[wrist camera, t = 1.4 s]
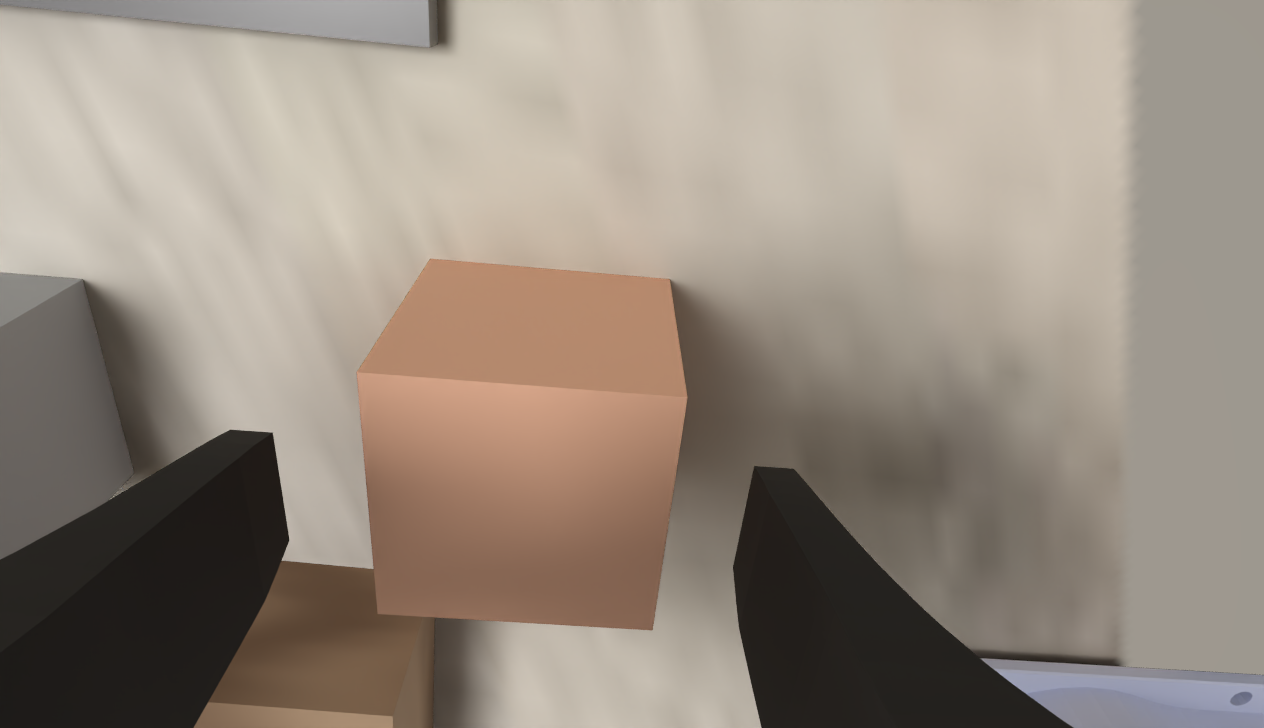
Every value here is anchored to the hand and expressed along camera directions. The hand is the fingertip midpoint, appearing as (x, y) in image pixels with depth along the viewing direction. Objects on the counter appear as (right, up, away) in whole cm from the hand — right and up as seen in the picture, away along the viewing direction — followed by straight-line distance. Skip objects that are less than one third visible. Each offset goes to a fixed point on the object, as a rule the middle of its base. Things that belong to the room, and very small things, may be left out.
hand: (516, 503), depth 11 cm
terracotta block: (0, +2, +4) cm, 4 cm away
